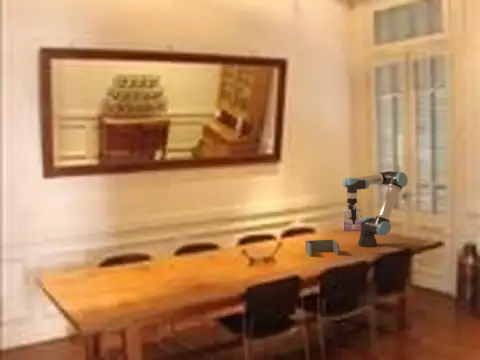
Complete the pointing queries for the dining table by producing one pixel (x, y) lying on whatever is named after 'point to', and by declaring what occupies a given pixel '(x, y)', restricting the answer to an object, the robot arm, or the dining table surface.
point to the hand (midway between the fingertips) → (352, 227)
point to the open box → (321, 246)
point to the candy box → (348, 222)
